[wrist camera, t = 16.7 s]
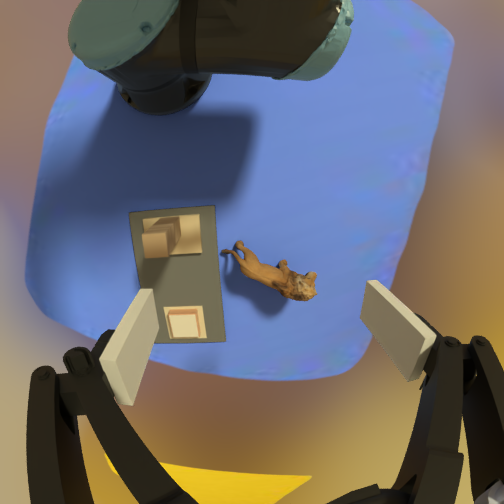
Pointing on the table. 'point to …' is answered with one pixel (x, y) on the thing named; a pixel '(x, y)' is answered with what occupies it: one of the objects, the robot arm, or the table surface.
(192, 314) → the cream square tile
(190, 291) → the taupe mat
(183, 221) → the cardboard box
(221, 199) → the table surface
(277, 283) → the lion figurine
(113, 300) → the table surface
